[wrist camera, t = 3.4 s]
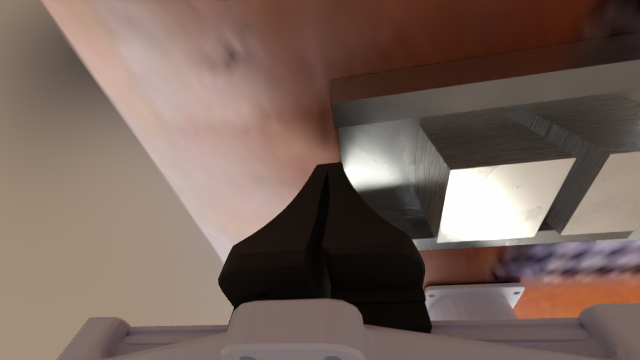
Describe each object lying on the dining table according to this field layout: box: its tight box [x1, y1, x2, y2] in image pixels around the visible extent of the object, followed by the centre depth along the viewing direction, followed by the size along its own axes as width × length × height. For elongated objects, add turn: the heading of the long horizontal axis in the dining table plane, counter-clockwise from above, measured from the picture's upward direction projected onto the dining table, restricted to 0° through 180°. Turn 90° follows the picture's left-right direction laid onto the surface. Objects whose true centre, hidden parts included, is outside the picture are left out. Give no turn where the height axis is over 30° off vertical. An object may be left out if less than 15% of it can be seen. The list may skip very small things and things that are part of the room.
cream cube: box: [414, 114, 576, 243], centre depth 11 cm, size 4×4×4 cm
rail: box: [331, 32, 640, 251], centre depth 12 cm, size 9×14×4 cm, turn 99°
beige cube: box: [526, 99, 640, 235], centre depth 10 cm, size 4×4×4 cm
